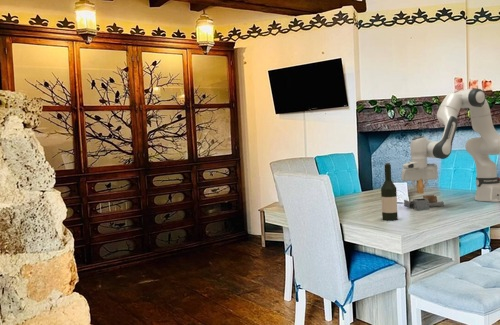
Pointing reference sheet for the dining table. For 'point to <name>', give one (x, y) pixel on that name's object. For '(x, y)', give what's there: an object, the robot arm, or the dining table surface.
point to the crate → (430, 198)
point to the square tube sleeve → (420, 204)
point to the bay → (432, 204)
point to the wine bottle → (389, 197)
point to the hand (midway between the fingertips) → (420, 187)
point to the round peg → (420, 186)
